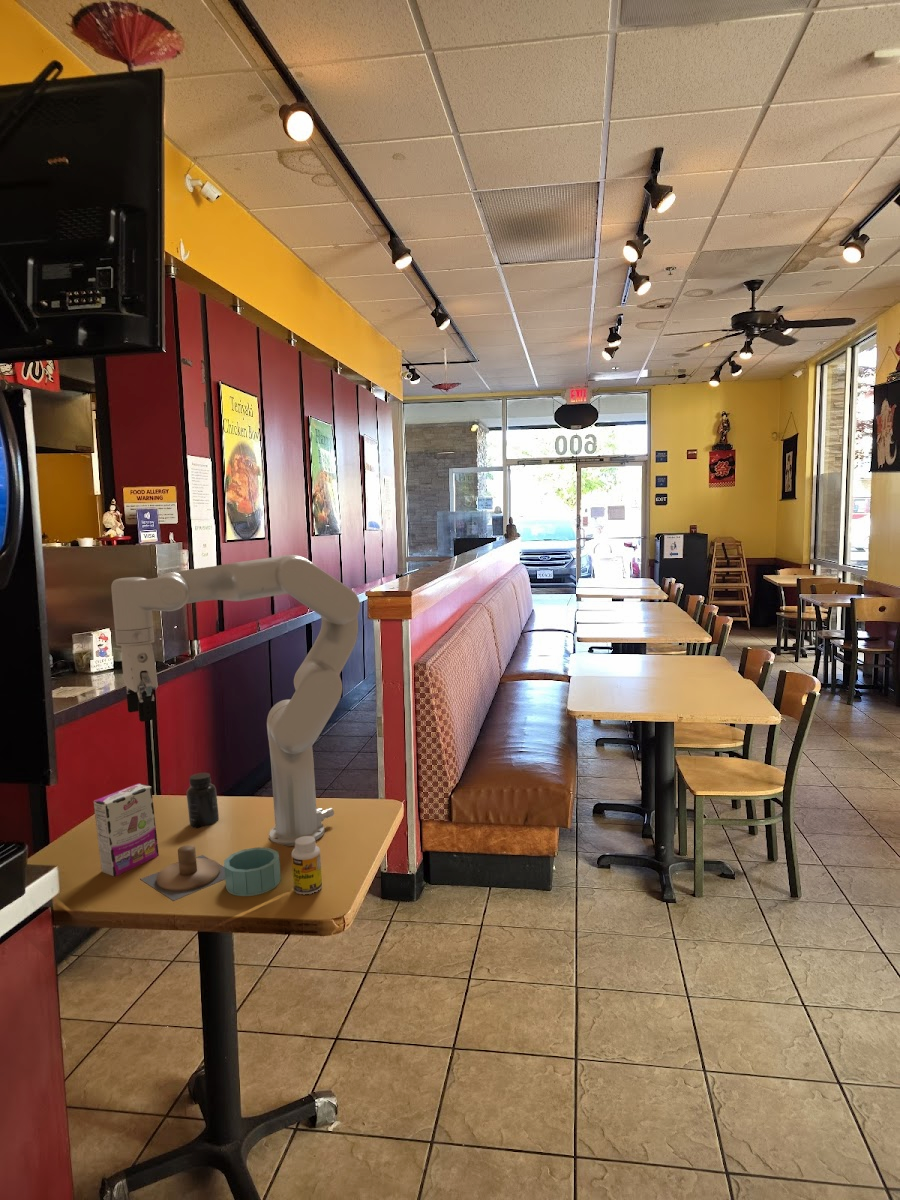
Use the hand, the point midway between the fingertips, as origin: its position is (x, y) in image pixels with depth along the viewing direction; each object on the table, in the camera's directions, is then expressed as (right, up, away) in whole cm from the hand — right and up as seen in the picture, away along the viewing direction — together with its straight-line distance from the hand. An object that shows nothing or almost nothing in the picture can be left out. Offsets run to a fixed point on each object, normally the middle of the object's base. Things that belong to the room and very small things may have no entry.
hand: (141, 715), depth 166 cm
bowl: (+26, -33, -9) cm, 43 cm away
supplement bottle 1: (+6, -30, +23) cm, 38 cm away
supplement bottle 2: (+38, -33, -12) cm, 51 cm away
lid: (+12, -32, -6) cm, 35 cm away
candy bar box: (-3, -33, +2) cm, 33 cm away
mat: (+12, -33, -6) cm, 35 cm away
